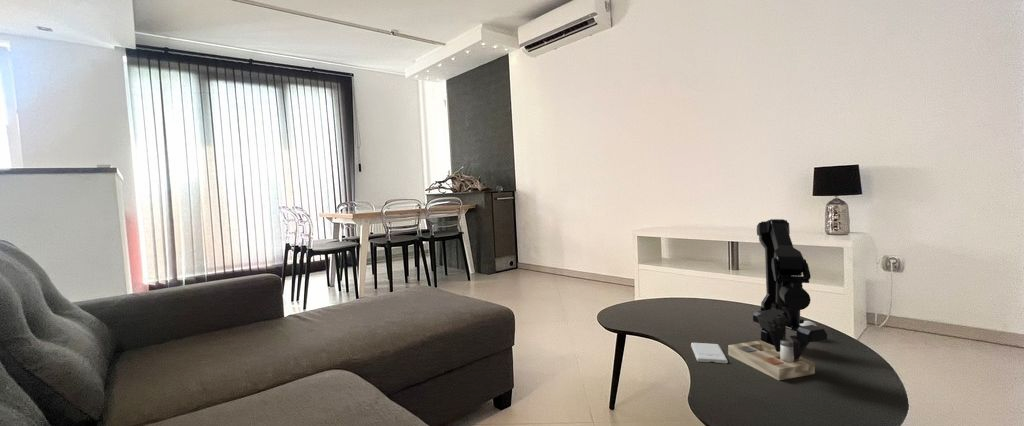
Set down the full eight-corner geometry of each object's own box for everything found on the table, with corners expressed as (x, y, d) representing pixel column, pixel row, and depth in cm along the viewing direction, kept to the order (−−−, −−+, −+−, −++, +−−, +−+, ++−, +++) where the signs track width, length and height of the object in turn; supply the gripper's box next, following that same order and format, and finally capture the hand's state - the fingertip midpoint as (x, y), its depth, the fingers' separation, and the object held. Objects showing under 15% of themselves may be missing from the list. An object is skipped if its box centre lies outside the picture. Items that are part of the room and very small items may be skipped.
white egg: (821, 341, 141) (821, 324, 141) (800, 339, 143) (800, 323, 143) (813, 333, 148) (814, 317, 148) (794, 332, 150) (794, 316, 150)
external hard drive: (718, 349, 139) (727, 365, 127) (690, 347, 141) (697, 363, 129) (718, 344, 139) (727, 359, 127) (690, 342, 141) (697, 357, 129)
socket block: (760, 349, 136) (760, 339, 136) (814, 373, 119) (814, 362, 118) (728, 354, 133) (728, 344, 133) (778, 380, 115) (779, 368, 115)
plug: (786, 366, 124) (786, 338, 123) (796, 371, 121) (797, 342, 120) (777, 367, 123) (777, 340, 122) (787, 372, 120) (787, 344, 119)
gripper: (737, 294, 127) (737, 347, 128) (794, 312, 109) (793, 373, 110) (768, 290, 130) (768, 342, 131) (829, 307, 112) (828, 367, 113)
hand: (787, 355), depth 121 cm, fingers open, 5 cm apart
